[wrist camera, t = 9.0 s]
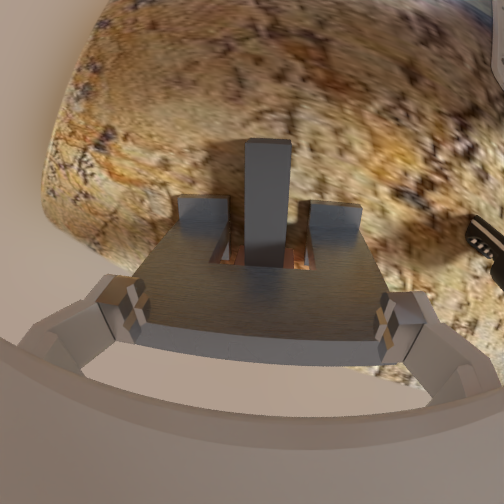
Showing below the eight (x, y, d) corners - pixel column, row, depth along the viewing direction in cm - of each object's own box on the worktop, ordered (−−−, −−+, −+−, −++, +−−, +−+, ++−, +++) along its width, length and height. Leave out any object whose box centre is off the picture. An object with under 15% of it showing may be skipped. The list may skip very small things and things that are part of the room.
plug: (240, 137, 21) (228, 145, 17) (301, 140, 21) (306, 148, 16) (240, 287, 29) (232, 320, 24) (288, 291, 28) (288, 324, 24)
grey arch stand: (181, 194, 24) (92, 284, 12) (359, 204, 23) (424, 309, 11) (186, 251, 27) (124, 360, 15) (348, 262, 26) (383, 384, 14)
